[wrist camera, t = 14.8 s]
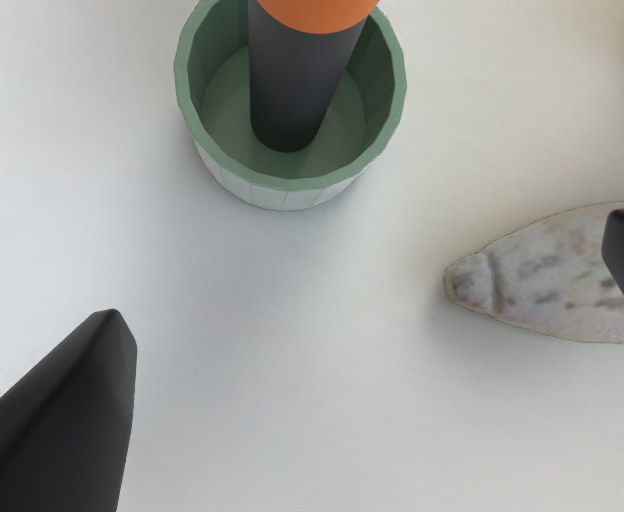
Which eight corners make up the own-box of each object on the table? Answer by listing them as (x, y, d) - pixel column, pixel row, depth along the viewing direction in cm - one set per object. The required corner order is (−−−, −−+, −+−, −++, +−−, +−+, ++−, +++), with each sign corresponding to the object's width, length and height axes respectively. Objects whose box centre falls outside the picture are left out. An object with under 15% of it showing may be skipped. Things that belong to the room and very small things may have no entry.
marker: (300, 168, 21) (373, -2, 8) (234, 132, 21) (204, -102, 8) (334, 105, 22) (454, -153, 9) (270, 68, 21) (295, -253, 9)
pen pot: (353, 228, 22) (382, 213, 17) (174, 189, 21) (150, 161, 16) (387, 59, 23) (424, -4, 18) (214, 14, 22) (202, -65, 17)
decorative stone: (426, 221, 22) (457, 211, 19) (731, 195, 24) (809, 181, 21) (441, 357, 22) (475, 371, 19) (747, 320, 24) (829, 327, 21)
